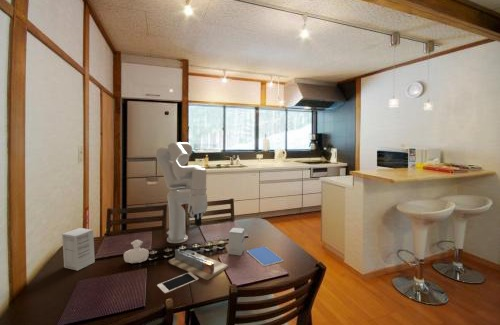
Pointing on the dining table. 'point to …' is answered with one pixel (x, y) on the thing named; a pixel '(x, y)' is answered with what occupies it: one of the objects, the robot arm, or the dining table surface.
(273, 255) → the tablet computer
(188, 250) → the lock slider
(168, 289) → the cell phone
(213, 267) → the tongs hinged arm
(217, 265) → the rest board
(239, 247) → the supplement box
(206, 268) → the tongs fixed arm
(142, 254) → the white rounded piece
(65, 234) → the supplement box
